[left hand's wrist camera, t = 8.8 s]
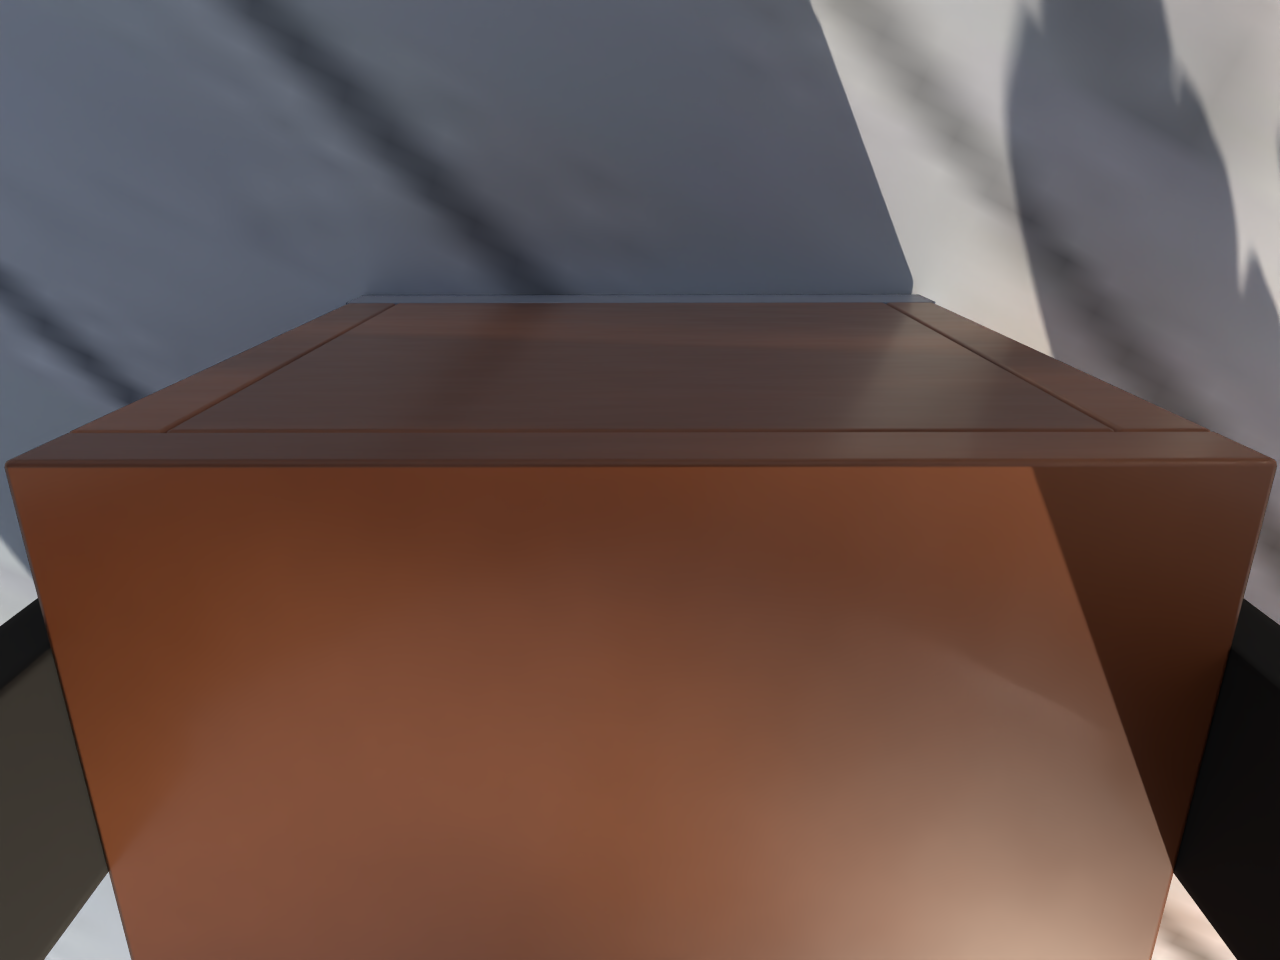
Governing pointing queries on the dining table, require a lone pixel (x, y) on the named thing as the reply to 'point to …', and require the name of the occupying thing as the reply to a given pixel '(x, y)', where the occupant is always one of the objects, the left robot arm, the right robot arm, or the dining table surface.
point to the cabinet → (641, 636)
